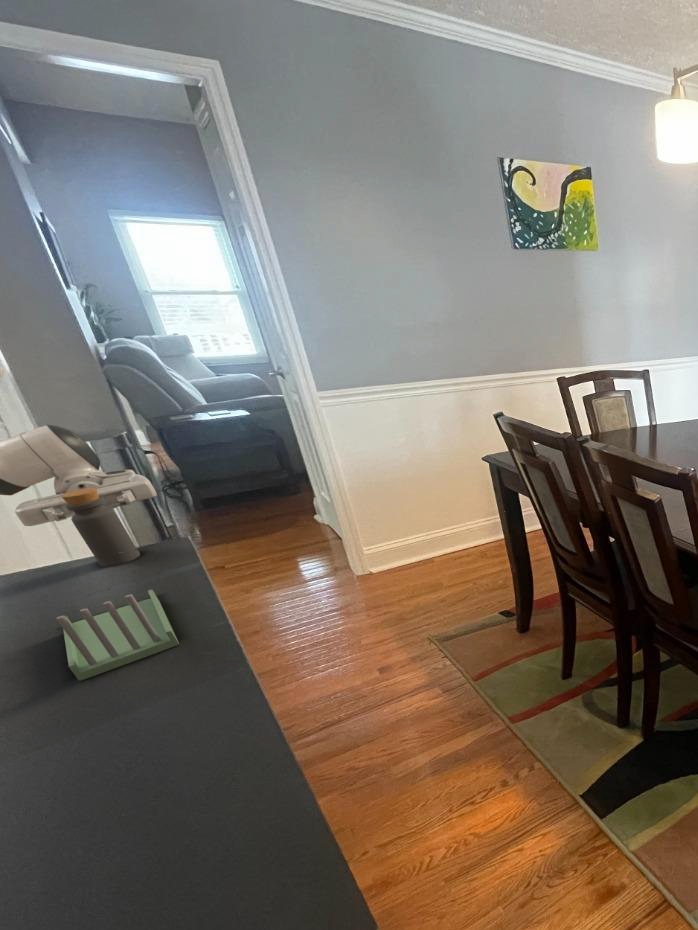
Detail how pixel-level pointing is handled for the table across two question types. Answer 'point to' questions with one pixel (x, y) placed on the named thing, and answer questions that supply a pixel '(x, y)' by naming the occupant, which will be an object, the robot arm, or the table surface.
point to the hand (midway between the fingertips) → (92, 509)
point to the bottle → (100, 527)
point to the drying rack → (116, 636)
